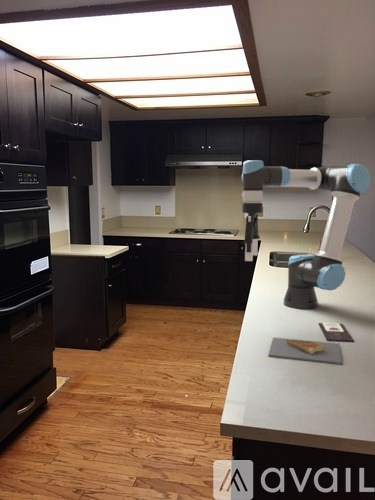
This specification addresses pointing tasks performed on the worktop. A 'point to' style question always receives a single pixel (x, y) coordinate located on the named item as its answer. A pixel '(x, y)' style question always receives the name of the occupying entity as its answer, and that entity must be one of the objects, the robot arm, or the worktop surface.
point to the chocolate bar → (335, 332)
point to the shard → (306, 346)
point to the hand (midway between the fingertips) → (251, 258)
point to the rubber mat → (290, 352)
